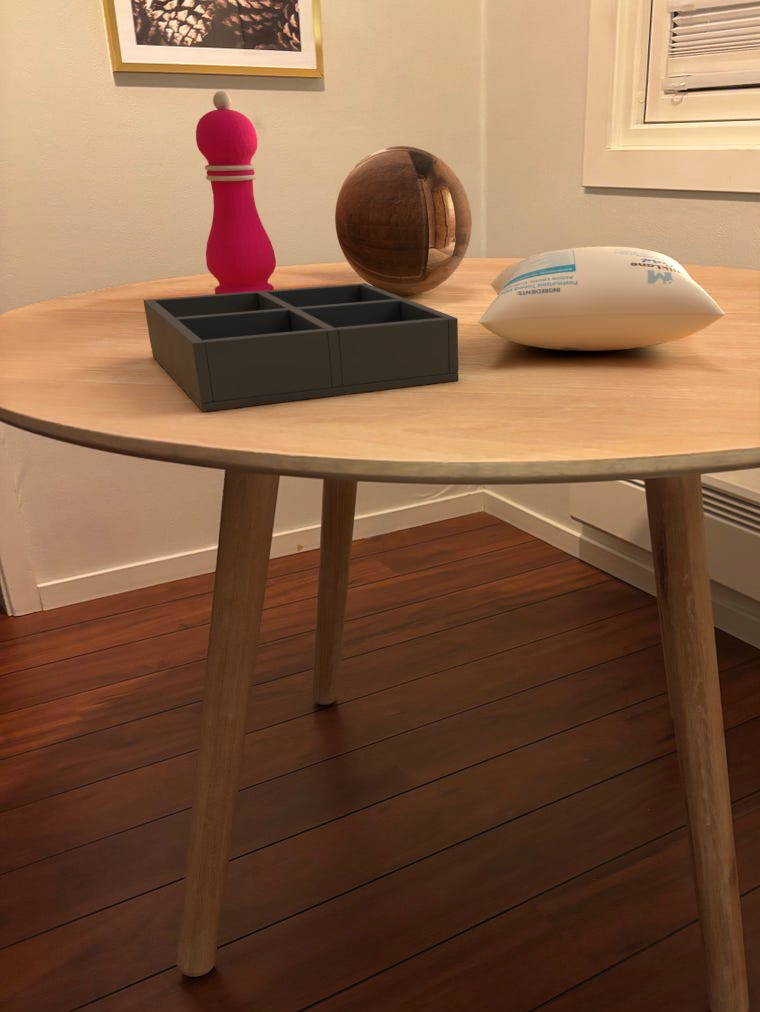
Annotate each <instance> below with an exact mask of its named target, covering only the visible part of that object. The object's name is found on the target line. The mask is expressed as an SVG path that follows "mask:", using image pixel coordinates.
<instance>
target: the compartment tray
mask: <svg viewBox="0 0 760 1012" xmlns="http://www.w3.org/2000/svg"><path fill="white" fill-rule="evenodd" d="M143 306H144V312H145V319H146V324H147V331H148V336H149V343H150V349H151V354H152V355H151V356H152V357H153V359H154V360H155V361H156V362H157V363H158V364H159V365H160V367H162V369H163V370H164V371H165V372H166V373H167V374H168V375H169V376H170V377H171V379H173V380H174V382H175V384H177V386H179V387H180V388H181V389H182V391H183V392H184V393H185V394H186V395H187V396H188V397H189V398H190V399H191V401H193V403H194V404H195V405H196V406H197V408H198V409H199V410H201V412H203V413H206V412H215V411H221V410H222V411H223V410H231V409H239V408H245V407H247V408H249V407H255V406H262V405H272V404H280V403H288V402H295V401H303V400H311V399H312V400H313V399H319V398H327V397H328V398H329V397H337V396H343V395H353V394H359V393H360V394H361V393H370V392H377V391H385V390H392V389H393V390H394V389H400V388H409V387H417V386H425V385H426V386H427V385H434V384H442V383H449V382H457V381H459V380H460V379H459V378H460V377H459V322H458V321H459V319H458V318H457V317H456V316H453V315H450V314H447V313H445V312H442V311H439V310H436V309H434V308H431V307H429V306H427V305H423V304H421V303H418V302H416V301H413V300H411V299H408V298H405V297H402V296H401V295H398V294H392V293H389V292H387V291H384V290H382V289H379V288H376V287H374V286H372V285H371V284H369V283H367V282H366V283H365V282H363V283H349V284H335V285H322V286H307V287H296V288H295V287H293V288H281V289H280V288H279V289H274V290H267V291H256V292H255V291H254V292H241V293H227V294H215V293H214V294H204V295H203V294H202V295H190V296H189V295H188V296H176V297H164V298H149V299H143Z"/></svg>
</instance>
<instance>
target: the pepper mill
mask: <svg viewBox="0 0 760 1012" xmlns="http://www.w3.org/2000/svg"><path fill="white" fill-rule="evenodd" d="M212 104H213V106H214V107H215V109H213V110H210V111H208V112H206V113H204V114H203V115H202V116H201V118H199V120H198V122H197V124H196V129H195V142H196V146H197V148H198V150H199V152H200V153H201V155H202V156H203V157H204V158H205V160H206V161H207V164H206V165H205V166H204V169H205V170H206V176H205V179H206V180H207V181H210V185H211V192H212V200H213V210H212V211H213V213H212V221H211V226H210V231H209V234H208V236H207V237H208V238H207V241H206V247H205V248H206V249H205V262H206V267H207V270H208V271H209V273H210V274H211V275H212V276H213V277H214V278H215V279H216V281H217V282H219V285H216V287H214V294H227V293H241V292H254V291H255V292H256V291H267V290H275V286H274V285H273V284H271V283H269V279H270V278H271V276H272V275H273V273H274V272H275V269H276V266H277V260H276V255H275V250H274V247H273V244H272V241H271V239H270V237H269V235H268V233H267V231H266V229H265V227H264V225H263V223H262V220H261V218H260V215H259V212H258V209H257V205H256V200H255V195H254V180H256V179H257V175H256V171H255V169H256V165H255V164H252V159H253V157H254V156H255V154H256V152H257V149H258V136H257V131H256V129H255V126H254V124H253V123H252V121H251V120H250V119H249V118H248V117H247V116H246V115H245V114H243V113H241V112H239V111H237V110H234V109H231V107H232V98H231V95H230V94H229V93H228V92H226V91H224V90H219V91H216V92H215V93H214V95H213V97H212Z"/></svg>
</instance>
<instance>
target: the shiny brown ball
mask: <svg viewBox="0 0 760 1012" xmlns="http://www.w3.org/2000/svg"><path fill="white" fill-rule="evenodd" d="M334 221H335V222H334V223H335V224H334V225H335V232H336V236H337V240H338V244H339V247H340V249H341V252H342V254H343V255H344V258H345V260H346V261H347V263H348V265H349V266H350V267H351V268H352V269H353V271H354V272H355V273H356V274H357V275H358V277H360V278H361V279H362V280H363V281H365V282H366V283H367V284H368V285H371V286H374V287H376V288H379V289H382V290H384V291H387V292H389V293H392V294H395V295H398V296H410V295H411V296H412V295H418V294H422V293H426V292H428V291H431V290H433V289H435V288H436V287H439V286H440V285H442V284H443V283H444V282H446V281H447V280H448V279H449V278H450V277H452V275H453V274H454V273H455V272H456V270H457V269H458V268H459V267H460V265H461V263H462V262H463V260H464V257H465V255H466V254H467V252H468V249H469V245H470V241H471V236H472V221H473V220H472V210H471V205H470V201H469V198H468V195H467V192H466V189H465V188H464V186H463V184H462V182H461V180H460V178H459V177H458V176H457V174H456V173H455V171H454V170H452V168H451V167H450V166H449V165H448V164H446V162H444V161H443V160H442V159H441V158H439V157H438V156H436V155H434V154H433V153H430V152H428V151H426V150H424V149H421V148H418V147H414V146H407V145H406V146H405V145H397V146H389V147H384V148H381V149H378V150H376V151H374V152H372V153H370V154H369V155H367V156H365V157H364V158H363V159H361V160H360V161H359V162H358V163H356V165H355V166H354V167H353V168H352V169H351V170H350V172H349V173H348V175H347V176H346V178H345V179H344V181H343V183H342V184H341V187H340V190H339V193H338V196H337V199H336V204H335V213H334Z"/></svg>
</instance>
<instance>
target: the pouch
mask: <svg viewBox="0 0 760 1012" xmlns="http://www.w3.org/2000/svg"><path fill="white" fill-rule="evenodd" d="M490 286H491V287H492V289H493V290H494V292H495V293H496V295H497V296H496V297H495V298H494V300H493V301H492V302H491V304H490V305H489V306H488V308H487V309H486V310H485V312H484V313H483V315H481V317H480V319H479V320H478V322H477V323H478V324H480V325H481V326H483V327H484V328H485V329H486V330H488V331H489V332H491V333H492V334H494V335H496V336H497V337H500V338H502V339H504V340H507V341H510V342H513V343H516V344H520V345H524V346H529V347H534V348H539V349H546V350H555V351H573V352H574V351H577V352H578V351H579V352H581V351H582V352H584V351H585V352H586V351H587V352H588V351H589V352H590V351H593V352H594V351H595V352H596V351H597V352H598V351H616V350H619V351H620V350H629V349H631V350H632V349H638V348H645V347H653V346H656V345H661V344H667V343H669V342H674V341H678V340H681V339H684V338H686V337H689V336H692V335H694V334H696V333H698V332H701V331H702V330H704V329H706V328H708V327H709V326H711V325H712V324H714V323H716V322H717V321H718V320H720V319H722V317H724V316H726V313H725V312H724V310H723V309H721V307H720V306H719V305H718V303H717V302H716V301H715V300H714V299H713V298H712V297H711V296H710V295H709V293H707V292H706V290H704V288H703V287H702V286H700V285H699V284H698V283H697V282H696V281H695V280H693V278H691V276H690V275H689V273H688V272H687V271H686V270H685V269H684V267H683V266H682V265H681V264H680V263H678V262H677V261H676V260H674V259H673V258H671V257H670V256H668V255H665V254H663V253H660V252H658V251H654V250H649V249H644V248H638V247H629V246H582V247H571V248H563V249H556V250H549V251H545V252H541V253H536V254H533V255H530V256H528V257H525V258H523V259H521V260H518V261H516V262H514V263H513V264H511V265H510V266H508V267H506V268H505V269H503V270H502V271H501V272H500V273H499V274H498V275H497V276H496V277H495V279H493V280H492V282H491V283H490Z"/></svg>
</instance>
